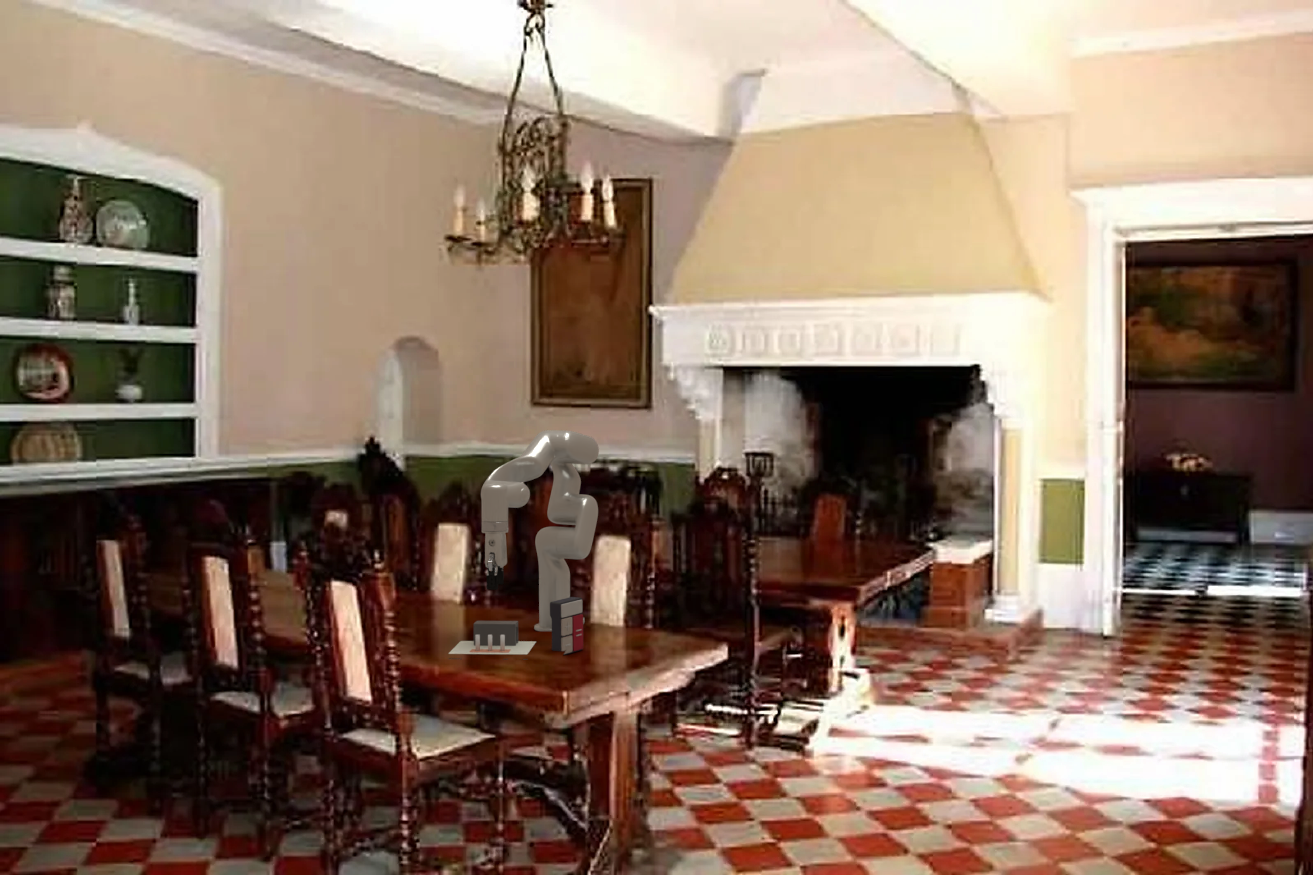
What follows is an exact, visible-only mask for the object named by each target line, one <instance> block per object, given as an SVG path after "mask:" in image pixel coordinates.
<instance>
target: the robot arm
mask: <svg viewBox="0 0 1313 875" xmlns="http://www.w3.org/2000/svg"><path fill="white" fill-rule="evenodd" d="M599 452H600V448H599V444H598V442H597V440H596V439H595V438H594V437H592V436H589V435H586V434H583V433H579V432H577V431H572V430H562V429H561V430H556V429H550V430H548V429H547V430H542V431H540V432H538V433H537V434H536V435H535V437H534V438H533V439H532V441H531V442H530V443H529V445H528V446H527V447H526V448H525V450H524V451H523V452H522V453H521V454H520V455H519V456H518V457H516V458H514V459H512V460H509V461H508V462H505V463H504V464H502V465H500V466H499V467H497V468H496V469H494V470H493V471H492V472H491V474H489V476H487V478H486V480H485V481H484V483H483V485H482V487H481V489H480V499H481V533H482V534H485V536H484V539H485V540H484V541H485V542H484V564H485V568H486V590H487V591H489V590H490V591H491V590H494V591H495V590H497V591H498V589H499V586H500V585H501V586H502V585H504V584H505V583H504V582H505V581H504V580H505V579H504V578H505V577H504V573H505V572H504V571H505V570H504V566H506V565H507V564H508V554H507V553H508V552H507V536H506V533H509V508H515V509H516V508H517V509H519V508H522V507H523V506H526V504H528V502H529V501H530V496H531V492H530V489H529V487H528V486H527V485H526V483H524V482H529V481H532V480H534V479H538V478H539V477H541V476H542V475H543V474H544V472H546V470H547V469H548V467H549V466H551V469H552V473H553V483H552V487H551V492H550V496H549V500H548V506H547V512H546V513H547V518H548V520H549V521H550V522H551V523H553V524H556V525H568V526H569V525H572V526H574V527H566V526H546V527H543V528H541V529H540V530H539V531H537V534H536V535H535V549H536V550H535V551H536V553H537V561H538V562H537V563H538V584H539V585H538V602H539V604H538V605H539V606H538V610H539V611H538V612H539V613H538V615H539V617H538V618H539V619H538V620H539V621H538V623H535V624H534V625H533V626H534V628H533V629H534V630H535V631H536V632H552V618H551V616H550V602H553V601H557V600H561V599H565V598H569V597H571V573H570V568H569V566H568V564H567V562H566V560H565V559H567V560H568V559H569V560H584V559H585V558H587V557H588V556H589V554H590V553H591V549H592V545H593V542H594V536H595V532H596V527H597V523H598V522H597V521H598V518H599V517H598V516H599V507H598V502H597V500H596V499H595V498H594V496H592V495H589V494H580V491H581V484H582V481H581V480H582V479H581V477H580V474H579V472H578V470H577V469H576V467H575V466H574V464H575V465H591V464H593V463H595V462H596V461H597V459H598V457H599ZM585 622H586V621H585V617H583V625H584V624H585Z"/></svg>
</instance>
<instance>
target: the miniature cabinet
mask: <svg viewBox="0 0 1313 875" xmlns="http://www.w3.org/2000/svg"><path fill="white" fill-rule="evenodd" d="M550 616H551V618H552V631H551V650H552V651H556V652H564V653H563V656H566V655H569V654H573V653H575V652H579V651H582V650H583V649H584V624H583V618H584V614H583V598H582V597H577V596H576V597H575V596H570V597H569V598H565V599H561V600H557V601H553V602H550Z"/></svg>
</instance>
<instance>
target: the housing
mask: <svg viewBox="0 0 1313 875" xmlns="http://www.w3.org/2000/svg"><path fill="white" fill-rule="evenodd" d="M475 635H480V646H488V635H492V646H500V635H505V646H516V643H518V641H519V621H518V620H476V621H475V622H474V623H473V641H474V646H476V641H475Z"/></svg>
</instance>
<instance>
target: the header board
mask: <svg viewBox="0 0 1313 875" xmlns="http://www.w3.org/2000/svg"><path fill="white" fill-rule="evenodd" d="M475 641H476V646H474V640H460V641H459V642H458V643H457V644H456V645H455V646H453V648H452V649H451V650H450V651H449V652H448V655H528V654H529V653H530V651H531V650H532V648H533V647H534V646H535V644H536V643H537V641H532V640H531V641H527V640H526V641H525V640H523V641H522V640H521V641H520V640H518V643H516V646H505V635H500V646H492V635H488V646H480V635H475ZM508 659H509V658H504V660H508ZM522 659H523V660H527V661H528V658H522ZM448 660H461V658H455V657H454V658H450V657H449V658H448ZM508 661H509V660H508Z"/></svg>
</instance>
